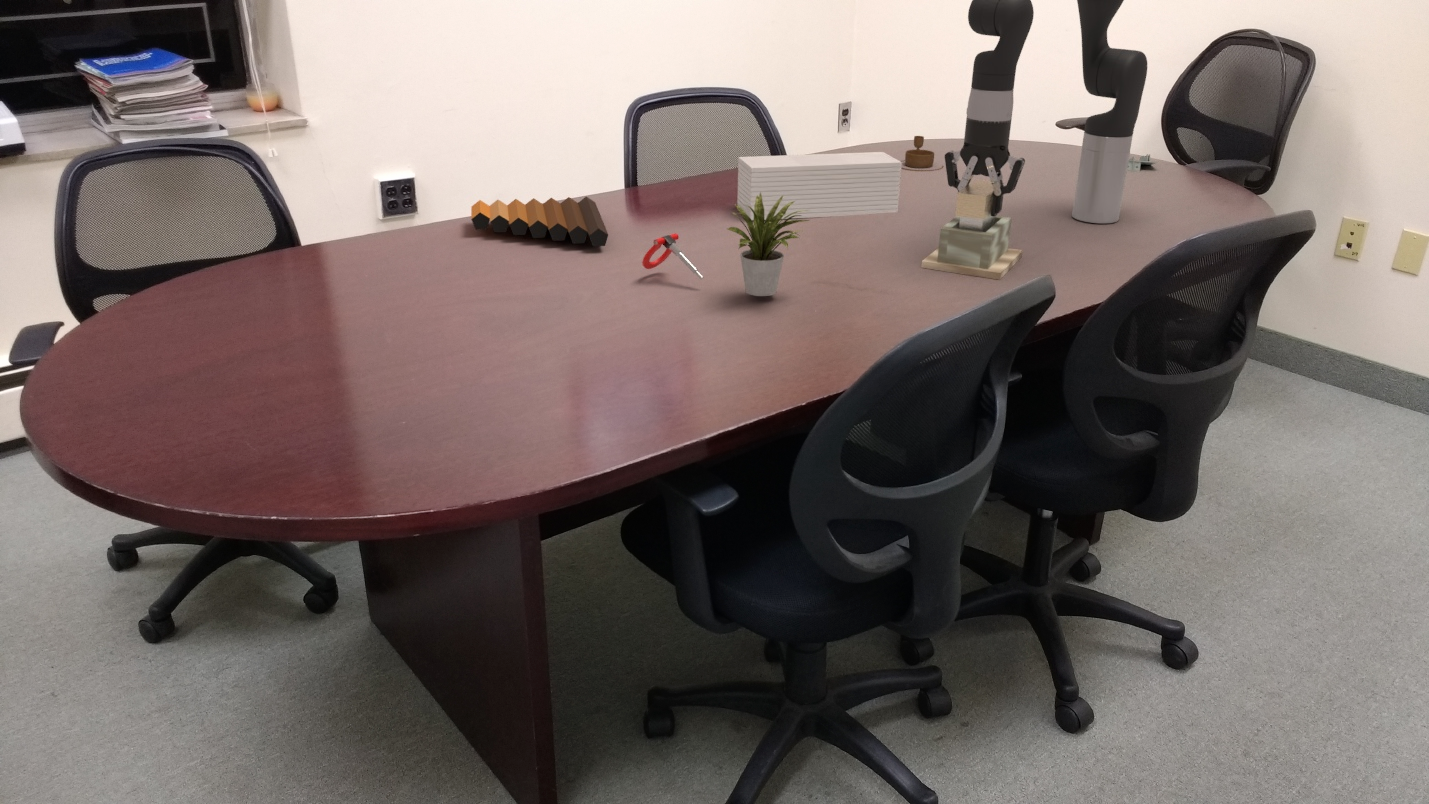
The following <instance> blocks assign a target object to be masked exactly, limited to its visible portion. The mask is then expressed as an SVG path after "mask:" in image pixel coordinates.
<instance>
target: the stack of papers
mask: <svg viewBox="0 0 1429 804" xmlns="http://www.w3.org/2000/svg"><path fill="white" fill-rule="evenodd" d="M900 161H901V160H899V159H896V158H894V156H891V155H889V154H888V153H886V152H884V151H872V152H871V151H870V152H869V151H867V152H866V151H865V152H846V153H845V152H844V153H843V152H841V153H817V154H816V153H812V154H810V153H809V154H790V155H789V154H785V155H762V156H761V155H759V156H758V155H757V156H738V160H737V162H738V163H737V165H738V167H737V200H736V201H737V204H736V205H738V206H739V207H741V208H742V209H743V210H744V211H745V213H746V214H747V215H748V216H749V217H750V219H751V220H752V221H753V220H754V214H753V212H752V210H751V209H750V208H749V207H748V206H750V207H751V208H752V209H753V210H755V200H756V197H757V196H758V197H759V195H760V193H761V196H762V202H763V206H764V221H765V220H766V218H767V216H768V214H769V212H770V210H771V209H772V208H773V206H774V205H775V204H776V202H777V201H778V200H779V199H780V198H781V197H782V196H783V198H782V200H781V202H780V204H779V206H778V208H777V210H776V212H775V214H774V216H775V215H777V213H778V212H779V211H780V210H781V209H782V208H783V207H784V206H785V205H787V204H788V203H791V202H793V201H795V202H794V203H793V204H792V205H790V206H789V207H788V209H787V211H786V213H785V214H784V216H783V217H782V218H781V219H780V220H782V219H783V218H785V217H786V216H787V215H789V214H791V213H793V212H796V211H801V210H808V211H801V212H797V213H795V214H792V215H790V216H788V217H787V218H785V219H784V220H787V219H788V218H789V217H791V216H794V215H801V216H795V217H793V218H792V219H810V218H812V219H813V218H831V217H845V216H859V215H861V216H862V215H875V214H887V213H899V212H898V211H899V199H900V189H901V186H900V185H901V176H902V169H901V168H902V167H903V166H902V164H903V161H902V162H900ZM745 205H747V206H745Z"/></svg>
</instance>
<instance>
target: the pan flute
mask: <svg viewBox="0 0 1429 804" xmlns="http://www.w3.org/2000/svg"><path fill="white" fill-rule="evenodd" d="M470 208H471V213H470V214H471V215H470V217H471V218H470V219H471V222H472V224H473V227H474V229H475V231H476V230H478V231H479V230H488V227H489V223H490V224H491V227H492V229H493V231H494V232H493V233H506V232H507V229H508V225H509V227H510V229H511V231H512V234H513V236H523V235H526V234H527V230H528V229H529V231H530V233H531V236H532V238H533V239H535V238H536V239H537V238H539V239H540V238H543V239H544V238H545V237H546V235H547V232H548V231H549V234H550V237H551V240H552V241H556V242H557V241H565V240H566V237H567V232H568V234H569V235H568V236H570V240H571V242H572V245H573V244H585V243H586V241H587V236H589V239H590V242H591V245H592V247H605V246H606V244H607V240H608V238H609V233H608V230H607V228H606V225H605V224H604V223H605V222H604V221H603V218H602V216H601V213H600V211H599V209H598V206H597V203H596V202H595V201H594V200H593V199H591V198H590V197H588V196H585V197H584V198H582V199H580V201H578V202H577V201H576V200H574V199H573V198H571V197H569V196H568V197H567V198H566V199H564V200H563V201H562V202H559V201H557V200H556V199H554V198H553V197H549V198H548V200H546V201H544V202H543V203H542V202H540V201H539V200H537V199H536V198H532V199H530V200H529V201H528V202H526V203H525V204H524V203H523V202H521V201H520V200H519V199H517V198H515V199H514V200H512V201H510V203H508V204H506V203H504V202H503V201H501V200H499V199H496V200H495V201H494V202H492V203H491V204H490V205H489V204H487V203H485V202H484V201H483V200H481V199H479V200H477V202H476V203H474V204H473V205H472V206H471V207H470ZM547 230H548V231H547Z"/></svg>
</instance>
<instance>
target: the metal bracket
mask: <svg viewBox="0 0 1429 804" xmlns="http://www.w3.org/2000/svg"><path fill="white" fill-rule="evenodd" d="M1135 158H1136V156H1132V157H1131V158H1129V161H1128V167H1127V172H1129V171H1130V172H1131V173H1135V172H1141V165H1142V166H1143V165H1144V166H1145V165H1146V166H1152V165H1154V164H1155V165H1156V164H1157V163H1158V161H1151V154H1146V155H1142V156H1140V157H1139V160H1135Z"/></svg>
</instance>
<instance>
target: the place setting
mask: <svg viewBox="0 0 1429 804" xmlns="http://www.w3.org/2000/svg"><path fill="white" fill-rule="evenodd" d="M924 140H925V137H924V136H923V135H914V138H913V146H914V148H916V149H908V150H906V151H905V155H904V158H905V159H904V160H899V161H900V162H902V163H903V162H905V165H906V166H907V167H909V168H904V167H901V170H905V171H913V172H933V171H940V170H941V169H943V168H944V165H941V167H939V168H935V169H928V168H932V166H933V165H934V159H935V152H934V151H932V150H928V149H921V148H923V146H924ZM910 168H913V169H910Z"/></svg>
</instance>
